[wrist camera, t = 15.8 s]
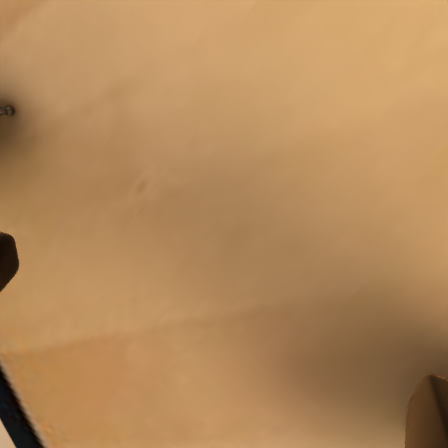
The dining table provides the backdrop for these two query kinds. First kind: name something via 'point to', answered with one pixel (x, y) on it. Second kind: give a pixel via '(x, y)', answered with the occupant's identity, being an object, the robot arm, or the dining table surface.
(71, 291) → the dining table surface
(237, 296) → the dining table surface
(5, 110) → the alarm clock
